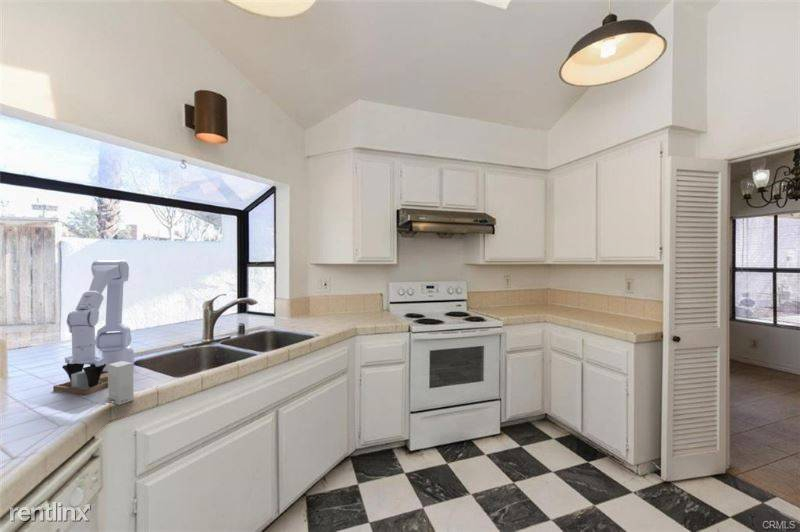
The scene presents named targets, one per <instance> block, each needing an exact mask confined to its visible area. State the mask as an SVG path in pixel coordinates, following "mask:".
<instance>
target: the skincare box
mask: <svg viewBox="0 0 800 532" xmlns="http://www.w3.org/2000/svg"><path fill="white" fill-rule="evenodd" d="M107 389H108V390H107V393H108V394H107V396H108V398H109V399H111V400H110V401H113V402H114V403H113V404H115V405H118V406H119V405H123V404H126V403H128V402H132V401H134V399H135V398H134V394H135V393H134V366H133V363H129V362H125V361H120V362H116V363H112V364H108V387H107Z"/></svg>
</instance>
